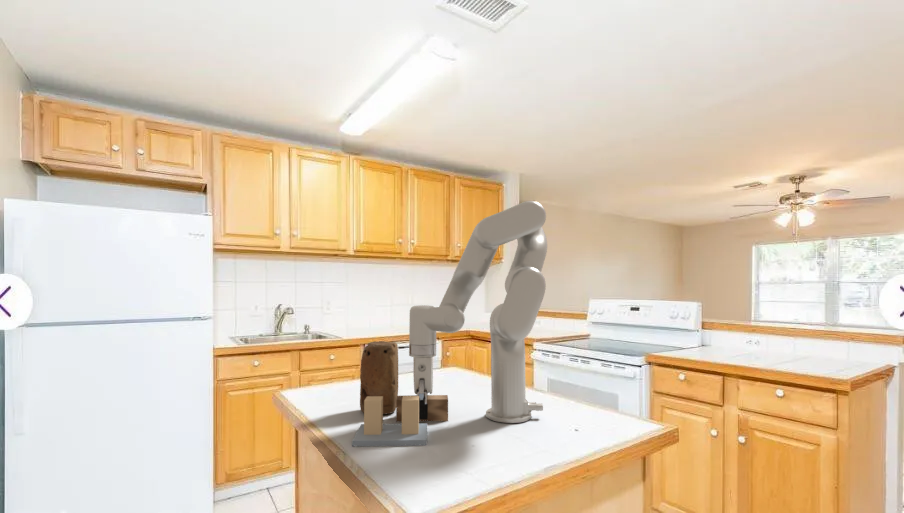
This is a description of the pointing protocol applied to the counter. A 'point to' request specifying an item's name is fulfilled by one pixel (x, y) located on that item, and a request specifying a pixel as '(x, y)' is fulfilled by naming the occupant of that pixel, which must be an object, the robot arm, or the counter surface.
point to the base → (391, 425)
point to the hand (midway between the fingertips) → (422, 413)
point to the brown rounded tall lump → (380, 374)
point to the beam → (435, 408)
